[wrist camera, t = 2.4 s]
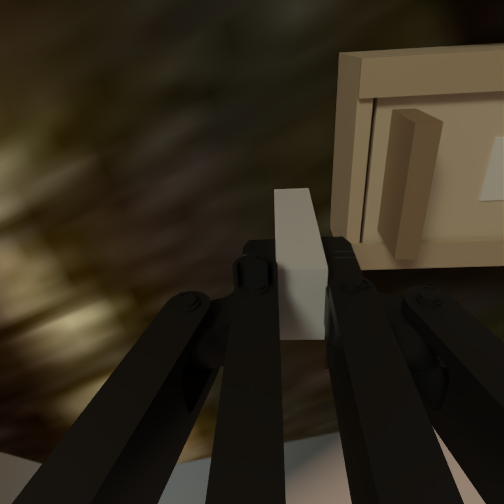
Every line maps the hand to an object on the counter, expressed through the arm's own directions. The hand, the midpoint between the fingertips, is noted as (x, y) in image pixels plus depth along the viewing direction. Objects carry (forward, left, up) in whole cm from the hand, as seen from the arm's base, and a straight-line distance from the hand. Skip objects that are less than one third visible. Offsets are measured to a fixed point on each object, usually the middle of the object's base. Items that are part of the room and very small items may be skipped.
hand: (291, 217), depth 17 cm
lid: (+12, 0, -6) cm, 13 cm away
